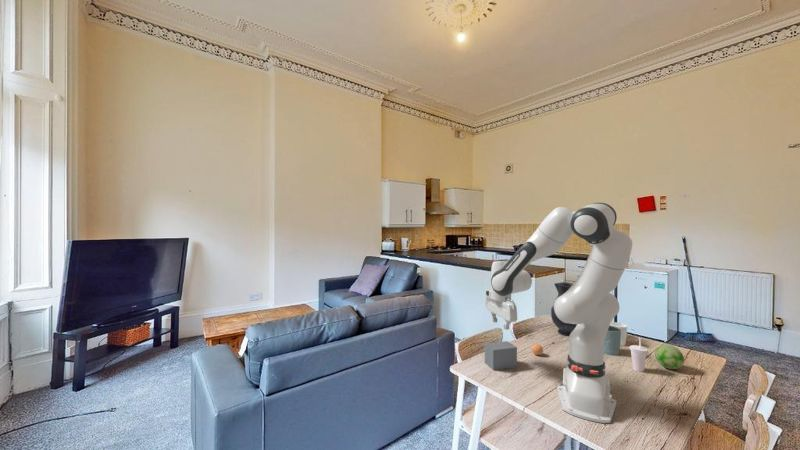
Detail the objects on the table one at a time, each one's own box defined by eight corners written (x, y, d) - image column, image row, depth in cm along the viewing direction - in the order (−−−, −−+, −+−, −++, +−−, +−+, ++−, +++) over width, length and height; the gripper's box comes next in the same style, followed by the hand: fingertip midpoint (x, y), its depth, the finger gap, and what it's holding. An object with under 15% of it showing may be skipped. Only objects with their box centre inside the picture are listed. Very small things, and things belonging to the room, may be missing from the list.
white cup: (605, 341, 168) (605, 322, 168) (616, 339, 170) (616, 321, 170) (619, 347, 160) (619, 327, 160) (630, 345, 163) (630, 326, 163)
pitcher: (558, 326, 192) (559, 277, 191) (596, 335, 176) (597, 282, 175) (545, 332, 181) (546, 281, 180) (584, 343, 165) (585, 287, 164)
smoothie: (651, 374, 132) (651, 341, 132) (634, 372, 134) (634, 340, 133) (642, 367, 139) (642, 335, 138) (626, 365, 140) (626, 334, 140)
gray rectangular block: (493, 370, 136) (493, 350, 136) (484, 362, 143) (484, 343, 143) (516, 366, 139) (517, 347, 138) (507, 359, 146) (507, 341, 146)
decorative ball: (653, 368, 138) (653, 345, 137) (656, 360, 145) (656, 339, 145) (683, 376, 131) (683, 352, 131) (684, 368, 138) (685, 345, 138)
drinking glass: (621, 357, 148) (622, 332, 148) (596, 352, 153) (596, 328, 153) (620, 350, 157) (620, 326, 156) (596, 345, 162) (596, 322, 162)
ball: (542, 357, 148) (542, 347, 148) (531, 355, 150) (531, 345, 150) (543, 353, 152) (543, 343, 152) (532, 351, 155) (532, 341, 155)
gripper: (521, 300, 131) (520, 333, 131) (494, 289, 151) (494, 317, 151) (508, 301, 129) (507, 334, 130) (483, 290, 149) (482, 318, 150)
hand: (500, 325), depth 141 cm, fingers open, 8 cm apart
